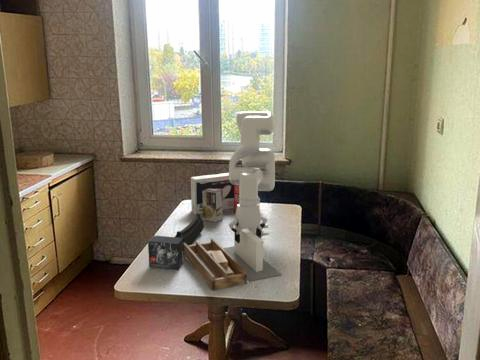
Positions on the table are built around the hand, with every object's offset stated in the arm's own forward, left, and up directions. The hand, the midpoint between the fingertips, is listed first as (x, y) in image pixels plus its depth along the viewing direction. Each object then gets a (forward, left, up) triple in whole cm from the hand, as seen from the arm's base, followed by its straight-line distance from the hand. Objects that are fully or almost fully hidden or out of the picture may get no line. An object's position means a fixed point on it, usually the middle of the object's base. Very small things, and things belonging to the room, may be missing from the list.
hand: (248, 240), depth 201 cm
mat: (0, 0, -10) cm, 10 cm away
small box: (+33, -10, -10) cm, 36 cm away
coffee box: (-6, -57, -10) cm, 58 cm away
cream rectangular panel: (0, 0, -9) cm, 9 cm away
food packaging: (-28, -62, -10) cm, 68 cm away
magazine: (+16, -29, -10) cm, 35 cm away
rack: (+16, 0, -10) cm, 19 cm away
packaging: (-15, -72, -10) cm, 74 cm away
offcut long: (+13, 0, -10) cm, 17 cm away
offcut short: (+14, 0, -7) cm, 15 cm away
